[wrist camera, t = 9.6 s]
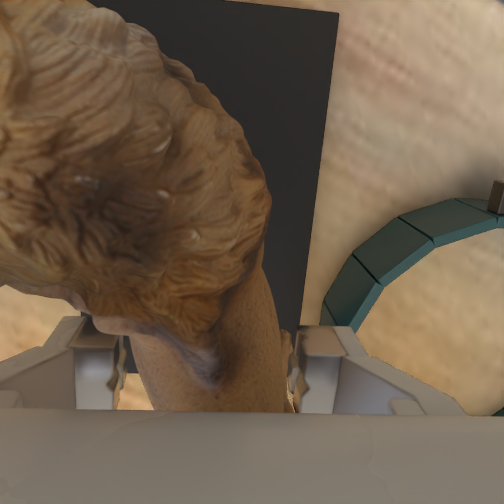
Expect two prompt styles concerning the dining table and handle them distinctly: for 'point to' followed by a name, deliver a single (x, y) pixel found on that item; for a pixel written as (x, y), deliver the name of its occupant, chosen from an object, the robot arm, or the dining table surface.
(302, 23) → the mat
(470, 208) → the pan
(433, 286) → the dining table surface
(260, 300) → the lion figurine
